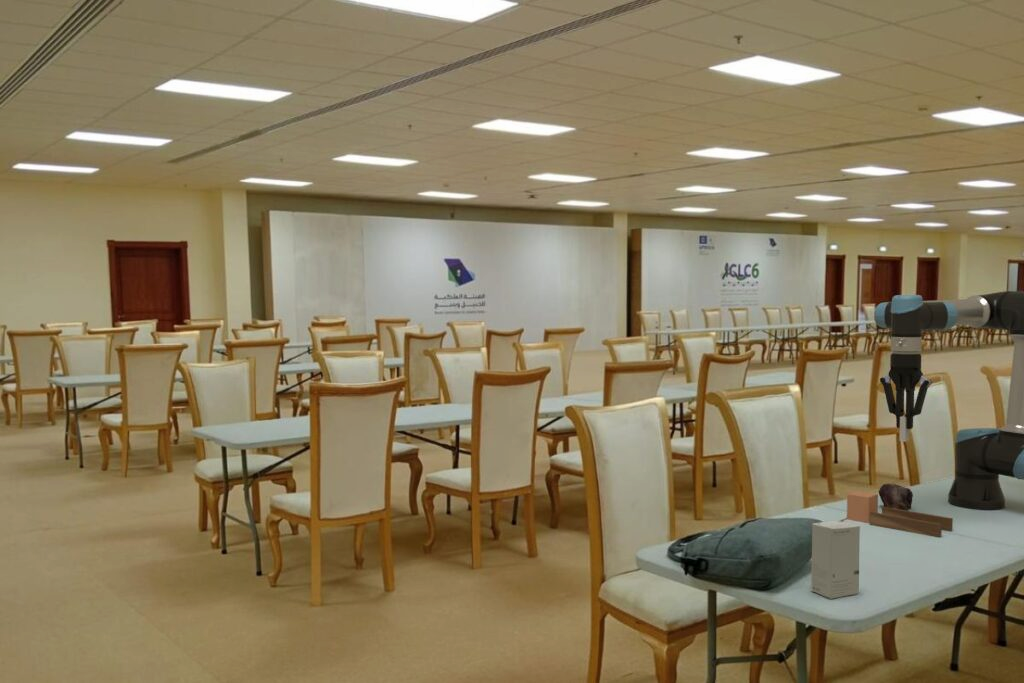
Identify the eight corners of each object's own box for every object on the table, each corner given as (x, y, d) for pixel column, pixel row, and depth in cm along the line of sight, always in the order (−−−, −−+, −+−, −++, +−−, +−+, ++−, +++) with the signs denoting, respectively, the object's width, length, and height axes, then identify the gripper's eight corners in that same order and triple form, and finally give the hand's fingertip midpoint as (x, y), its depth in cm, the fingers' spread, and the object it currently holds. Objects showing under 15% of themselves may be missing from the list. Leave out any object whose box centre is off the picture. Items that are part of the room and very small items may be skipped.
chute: (857, 516, 247) (857, 501, 246) (954, 534, 228) (954, 517, 228) (838, 524, 238) (838, 508, 238) (937, 543, 220) (937, 525, 219)
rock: (917, 515, 253) (881, 509, 259) (919, 486, 253) (883, 481, 259) (908, 517, 243) (871, 511, 249) (910, 487, 244) (873, 481, 250)
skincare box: (830, 600, 179) (831, 529, 178) (809, 591, 184) (810, 522, 184) (860, 594, 182) (861, 524, 181) (839, 585, 188) (840, 518, 187)
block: (856, 515, 244) (856, 490, 243) (877, 518, 239) (877, 494, 239) (846, 519, 239) (847, 494, 239) (868, 522, 235) (868, 497, 235)
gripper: (875, 352, 231) (874, 439, 232) (926, 354, 222) (924, 445, 223) (886, 351, 237) (885, 436, 238) (936, 353, 227) (935, 441, 228)
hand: (904, 440), depth 230 cm, fingers closed
